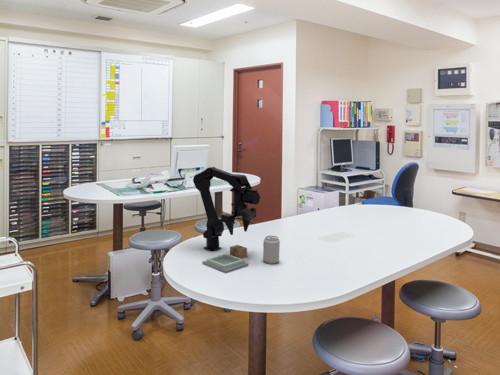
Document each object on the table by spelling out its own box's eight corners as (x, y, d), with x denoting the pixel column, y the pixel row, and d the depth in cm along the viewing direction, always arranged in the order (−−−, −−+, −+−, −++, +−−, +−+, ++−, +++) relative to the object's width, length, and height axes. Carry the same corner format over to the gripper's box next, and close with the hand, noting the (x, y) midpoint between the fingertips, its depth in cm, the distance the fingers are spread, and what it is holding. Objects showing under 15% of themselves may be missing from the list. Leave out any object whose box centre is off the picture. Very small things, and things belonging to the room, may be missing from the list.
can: (265, 264, 190) (266, 239, 189) (261, 259, 198) (261, 235, 196) (281, 263, 192) (282, 238, 191) (275, 258, 200) (276, 234, 198)
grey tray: (202, 263, 190) (202, 258, 189) (225, 257, 200) (225, 252, 199) (225, 273, 179) (225, 267, 178) (248, 265, 189) (248, 260, 188)
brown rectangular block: (229, 255, 203) (229, 246, 202) (237, 253, 206) (237, 244, 205) (239, 259, 198) (239, 250, 197) (246, 257, 201) (247, 248, 200)
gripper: (236, 206, 185) (236, 240, 188) (264, 201, 198) (263, 233, 201) (220, 202, 193) (219, 235, 196) (248, 198, 206) (247, 228, 209)
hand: (238, 233), depth 200 cm, fingers open, 9 cm apart
